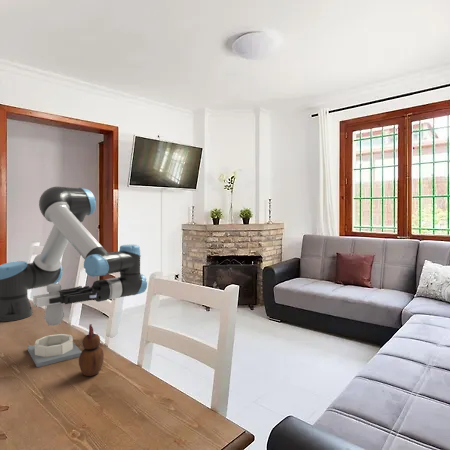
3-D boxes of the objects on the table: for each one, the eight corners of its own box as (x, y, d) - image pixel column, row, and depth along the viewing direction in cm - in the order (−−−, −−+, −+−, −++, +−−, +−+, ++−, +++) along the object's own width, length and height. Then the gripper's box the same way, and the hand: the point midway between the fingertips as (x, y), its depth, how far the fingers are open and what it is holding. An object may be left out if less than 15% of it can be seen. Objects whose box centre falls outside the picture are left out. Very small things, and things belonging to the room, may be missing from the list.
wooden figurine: (93, 380, 95) (93, 326, 94) (75, 377, 96) (74, 325, 95) (107, 368, 101) (106, 319, 100) (89, 366, 102) (89, 317, 102)
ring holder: (54, 340, 119) (54, 332, 119) (80, 345, 115) (79, 336, 115) (27, 353, 108) (26, 344, 108) (54, 358, 105) (53, 349, 105)
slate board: (27, 349, 114) (27, 346, 114) (68, 340, 122) (68, 337, 122) (37, 367, 102) (36, 363, 101) (82, 355, 110) (82, 352, 110)
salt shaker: (57, 326, 108) (56, 286, 108) (40, 326, 109) (39, 285, 108) (67, 320, 114) (67, 282, 113) (51, 320, 115) (51, 282, 114)
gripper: (117, 304, 118) (44, 319, 102) (96, 295, 130) (28, 307, 113) (116, 282, 118) (43, 294, 101) (96, 276, 129) (27, 285, 113)
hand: (35, 301), depth 107 cm, fingers closed on salt shaker, 3 cm apart
